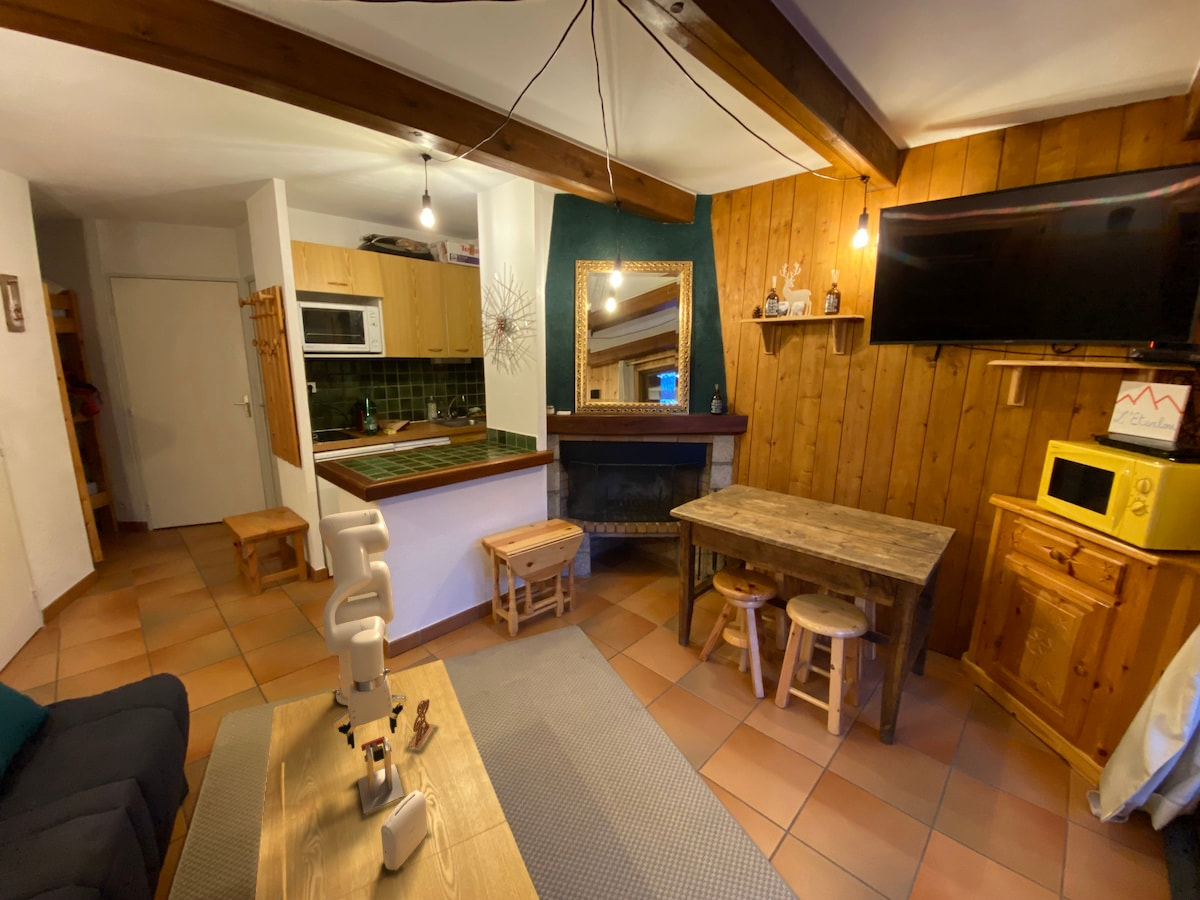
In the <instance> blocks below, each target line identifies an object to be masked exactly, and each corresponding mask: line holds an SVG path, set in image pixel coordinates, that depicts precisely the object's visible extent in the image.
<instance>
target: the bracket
mask: <svg viewBox="0 0 1200 900" xmlns="http://www.w3.org/2000/svg"><path fill="white" fill-rule="evenodd" d="M382 747H383V751H384V759H383V765H384V767H383V768H382V769H378V770H376V771H375V770H374V760H373V753H372V748H370V744H369V745H366V746H365V749H366V750H365V755H363V756H364V757H363V758H364V763H366V775H364V776H362V777H359V778H357V784H358V790H359V797H360V801H361V806H362V811H363V815H366V814H368V813H370V812H372V811H375V810H377V809H379V808H381V807H383V806H385V805H388V804H390V803H393V802H394V801H396V800H399V799H401V798H403V797H405V793H404V790H403V787H402V783H401V780H400V777H399V773H398V769H397V766H396V763H393V764H392V755H391V754H392V752H393V751H392V749H393V748H392V745H390V744H389V740H388V737H384V739H383V743H382Z"/></svg>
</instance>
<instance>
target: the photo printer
mask: <svg viewBox="0 0 1200 900" xmlns="http://www.w3.org/2000/svg"><path fill="white" fill-rule="evenodd" d="M427 816H428V814H427V800H426V797H425V794H423V792H422V791H419V790H418V789H417V790H414V791H412V792H411V793H409V794H408V795H407V796H405V798H403V799H402V800H401V801H400V802H399V803H398V804H397V805H396V806H395V808H394V809H392V811H391V812H390V814H389V815H388V816H387V817H386V818H385V820H384V822H383V824H382V826H381V829H380V833H381V834H380V835H381V847H382V859H383V860H382V861H383V864H384V866H385V868H386V869H387V870H390V871H393V870H394V871H397V870H398V869H399V868H400V867H401V866H402V865H403V864H404V863H405V862H406V860H407V859H408V858H409V857H410V856H411V855H412V853H414V851H415V850H416V849H417V848H418V846H419V845H420V844H421V843H422V841H424V839H425V837H426V835H428V817H427Z"/></svg>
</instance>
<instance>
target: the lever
mask: <svg viewBox="0 0 1200 900" xmlns="http://www.w3.org/2000/svg"><path fill="white" fill-rule="evenodd" d="M384 738H385V736H384V735H383V736H381V737H378V738H375V739H372V740H369V741H368V742H365V743H362V744H361V745H360V747H361V751H362V752H364V751H366V749H365V746H366V745H369V744H370V748H371V752H372V756H373V763H376V762H379V761H381V760H384V751H383V739H384Z"/></svg>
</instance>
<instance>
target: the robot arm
mask: <svg viewBox="0 0 1200 900" xmlns="http://www.w3.org/2000/svg"><path fill="white" fill-rule="evenodd" d="M318 531H319V533H320V537H321V539H322V541H323V543H324V544H325V546H326V548H327V549H328V553H329V554H330V558H331V567H332V568H331V569H332V577H333V586H334V590H333V592H332V594H331V596H330V597H329V599H328V600H327V602H326V604H325V608H324V610H323V616H322V622H323V624H322V625H323V633H324V644H325V648H326V651H327V652H328V653H329V654H330V655H331V656H338V666H339V668H338V669H339V675H338V676H337V680H338V681H339V682H340V687H338V689H337V691H336V693H335V700H336V701H337V703H338V704H340V705H343V706H347V709H346V710H345V711H344V712H342V713H341V714H340V715H339V716H338V717H335V719H333V721H332V725H333V726H334V728H335V729H336V730H337V731H338V732H339V733H341V734H344V735H345V736H346V740H347V741H346V742H347V746H350V748H351V750H353V749H355V748H356V747H355V745H356V744H355V734H354V731H355V730H356V728H358V727H360V726H364V725H366V724H367V725H368V724H369V723H372V722H375V721H378V720H381V719H383V718H387V717H389V719H388V720H389V729H390V732H391V734H395V733H396V728H398V722H397V720H398V717H399V714H401V712H402V711H403V709H404V707H405V704H406V702H407V697H406V696H405V695H397V694H392V691H391V687H390V686H391V685H390V681H389V678H388V675H389V674H392V670H391V668H390V667H389V668H386V667H385V661H384V659H385V657H384V639H385V636H386V631H387V626H386V625H387V624H390V623H391V622H392V621H393V620H394V617H395V605H394V597H393V587H392V578H391V573H390V569H389V566H388V564H387V563H386V562H385V561H382V560H373V561H370V555H372V554H373V555H374V554H377V553H378V554H379V553H383V552H386V551H387V550H388V549H389V547H390V534H389V529H388V527H387V523H386V521H385V519H384V517H383V514H382V512H381V511H380V510H379V509H377V508H370V509H362V510H361V509H360V510H354V511H345V512H338V513H337V512H336V513H333V514H329V515H325V516H324V517H322V518H321V519H320V520H319V522H318ZM371 593H375V594H376V595H372V596H368V597H363V598H362V597H361V598H358V599H353V600H349V601H345V600H346V599H347V598H352V597H357V596H362V595H365V594H371ZM343 601H345V602H343ZM338 690H339V691H338ZM393 703H397V704H396V706H395V707H393V706H394V705H393ZM347 719H348V720H349V721H348V723H347V724H344V723H343V722H345V721H346V720H347Z"/></svg>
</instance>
